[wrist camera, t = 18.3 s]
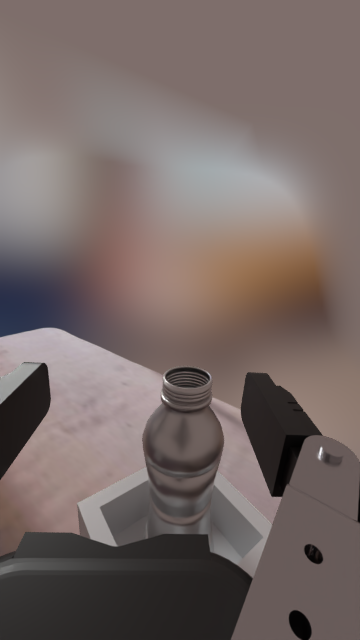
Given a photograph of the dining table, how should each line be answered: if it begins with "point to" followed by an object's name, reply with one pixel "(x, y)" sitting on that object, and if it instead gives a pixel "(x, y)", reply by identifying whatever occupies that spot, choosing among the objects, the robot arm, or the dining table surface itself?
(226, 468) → the dining table surface
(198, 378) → the plastic bottle
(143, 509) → the bin
